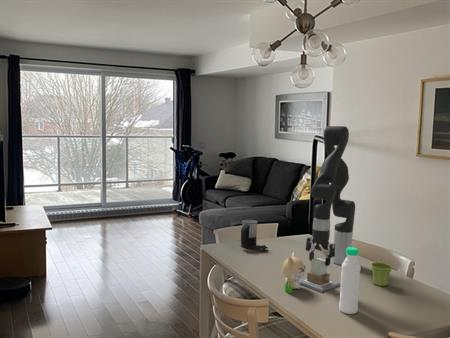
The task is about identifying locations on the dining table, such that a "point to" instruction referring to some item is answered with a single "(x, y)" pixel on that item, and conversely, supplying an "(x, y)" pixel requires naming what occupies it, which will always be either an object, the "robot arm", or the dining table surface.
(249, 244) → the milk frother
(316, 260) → the sage block
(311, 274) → the walnut base block
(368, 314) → the dining table surface
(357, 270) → the water bottle
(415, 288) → the dining table surface
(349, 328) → the dining table surface
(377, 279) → the plant pot
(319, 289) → the plate
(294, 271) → the kitten
